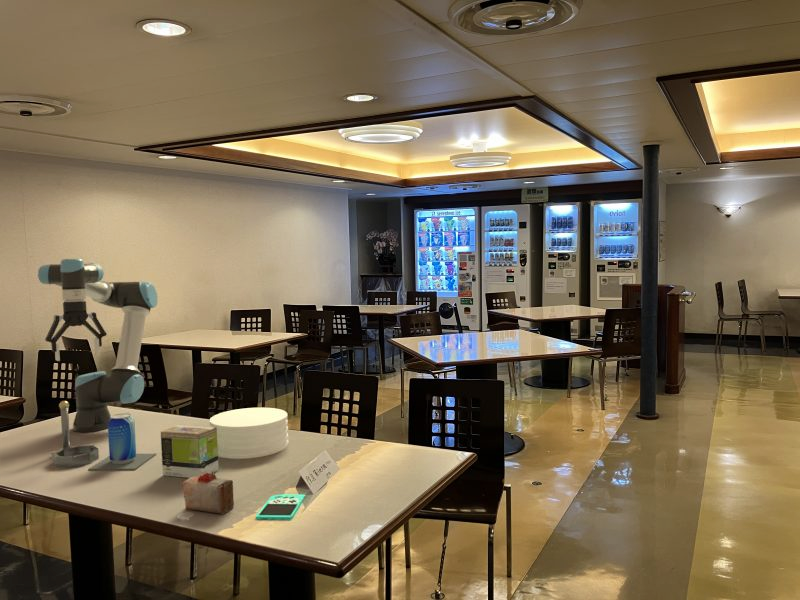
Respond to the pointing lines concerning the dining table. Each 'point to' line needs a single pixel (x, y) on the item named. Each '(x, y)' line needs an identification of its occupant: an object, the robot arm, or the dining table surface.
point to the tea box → (189, 450)
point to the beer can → (121, 438)
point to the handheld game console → (281, 507)
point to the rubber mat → (133, 465)
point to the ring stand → (72, 454)
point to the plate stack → (250, 432)
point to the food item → (208, 494)
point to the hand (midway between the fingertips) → (78, 358)
